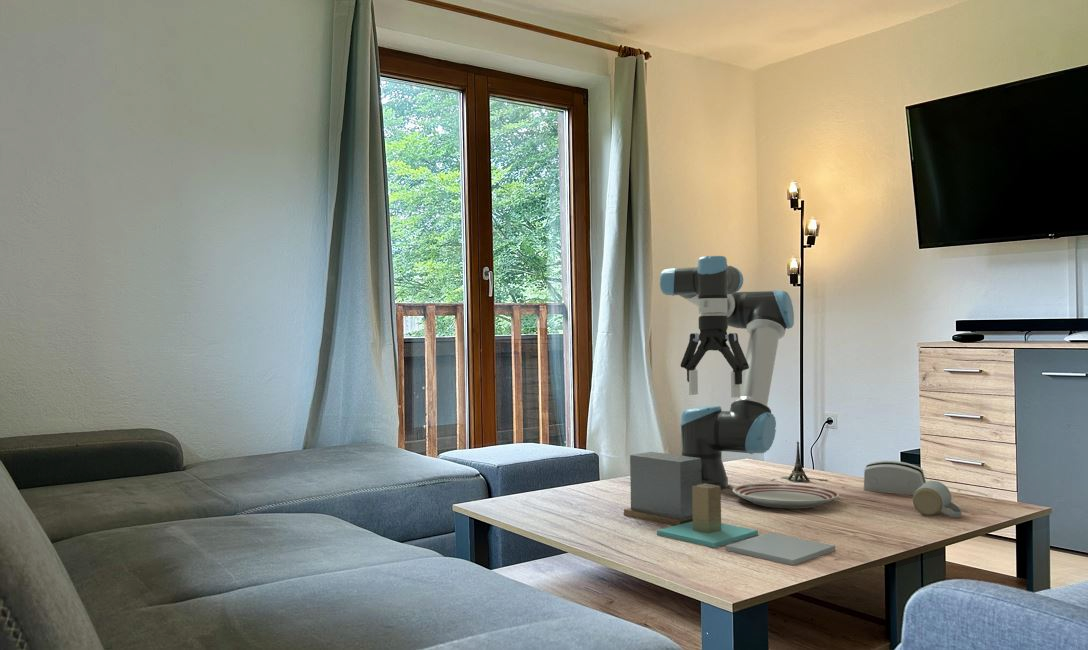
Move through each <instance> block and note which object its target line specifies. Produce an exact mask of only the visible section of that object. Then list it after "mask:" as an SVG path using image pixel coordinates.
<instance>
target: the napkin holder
mask: <svg viewBox="0 0 1088 650" xmlns="http://www.w3.org/2000/svg"><path fill="white" fill-rule="evenodd" d="M863 473H864V474H863V475H864V476H863V477H864V478H863V491H867V492H879V493H886V494H887V493H889V494H901V495H907V496H908V495H909V496H910V495H911V496H913V495H914V493H915V491H916V490H917V489H918V488H919V487H921V486H922V485H923V484H924V483H925V482H927V481H926V477H925V474H924V469H923V468H922V467H920V466H918V465H915V464H911V463H909V462H904V461H898V460H880V461H874V462H870V463H868V464H867V465H866V466H865V468H864V471H863Z"/></svg>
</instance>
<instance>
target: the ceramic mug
mask: <svg viewBox="0 0 1088 650" xmlns="http://www.w3.org/2000/svg"><path fill="white" fill-rule="evenodd" d="M912 504H913V508H915V510H916V511H917V512H918V513H919V514H922V515H923V516H927V517H928V516H929V517H933V516H936V515H939V514H940V513H942V514H944V515H946V516H948V517H951V518H955V519H957V518H961V515H962V513H963V511H962V509H961V508H960V506H958V505H956V504H955V503H954V502H952V493H951V491H950V489H949V487H947V486H946V485H945V484H944V483H942V482H940V481H938V480H928V481H926V482H925V483H924V484H923V485H922V486H921V487H919V488H918V489H917V490H916V491H915V493H914V495H912Z"/></svg>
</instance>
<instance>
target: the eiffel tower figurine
mask: <svg viewBox="0 0 1088 650" xmlns="http://www.w3.org/2000/svg"><path fill="white" fill-rule="evenodd" d="M800 453H801V452H800V442H799V441H796V456H795V457H796V458H795V459H796V460H795V463H794V468H793V469H792V471H791V473H790V475H789V476H782V477H780V478H779V479H781V480H787V481H789V482H791V483H793V484H798V483H811V480H813V478H811V477H810V478H809V477H808V475H806V471H804V469H803V465H802V462H801V455H800ZM776 480H778V479H776V478H773V479H770V482H771V481H772V482H774V481H776ZM815 480H816V481H819V482H828V481H829V479H824V478H822V479H821V478H814V481H815Z"/></svg>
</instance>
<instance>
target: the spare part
mask: <svg viewBox="0 0 1088 650" xmlns="http://www.w3.org/2000/svg"><path fill="white" fill-rule="evenodd" d="M721 489H722V488H721V486H718V485H711V484H705V483H704V484H700V485H695V486H692V507H693V530H694V531H699V532H703V533H708V534H709V533H713V532H717V531H720V530H721V523H722V496H721V495H722V493H721V491H722V490H721Z"/></svg>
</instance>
